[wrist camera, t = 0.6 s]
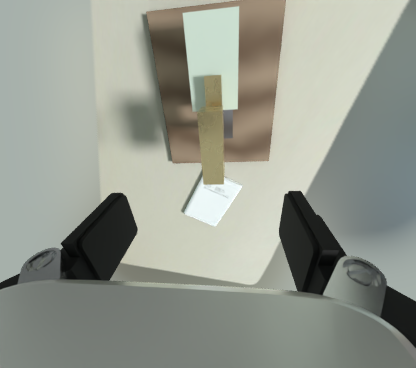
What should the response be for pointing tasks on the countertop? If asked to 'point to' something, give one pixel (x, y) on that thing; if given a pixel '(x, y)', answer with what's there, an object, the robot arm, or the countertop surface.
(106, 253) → the robot arm
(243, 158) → the base
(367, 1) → the countertop surface
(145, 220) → the countertop surface
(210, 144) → the key
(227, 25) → the mint green block
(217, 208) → the external hard drive
